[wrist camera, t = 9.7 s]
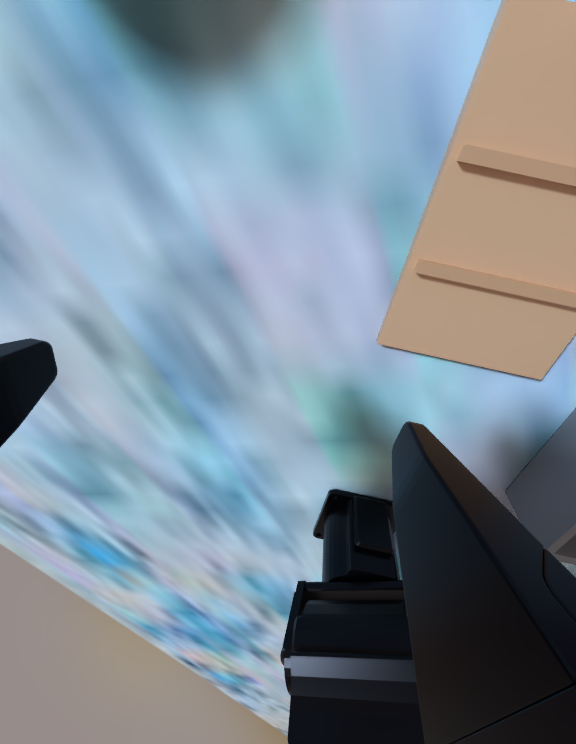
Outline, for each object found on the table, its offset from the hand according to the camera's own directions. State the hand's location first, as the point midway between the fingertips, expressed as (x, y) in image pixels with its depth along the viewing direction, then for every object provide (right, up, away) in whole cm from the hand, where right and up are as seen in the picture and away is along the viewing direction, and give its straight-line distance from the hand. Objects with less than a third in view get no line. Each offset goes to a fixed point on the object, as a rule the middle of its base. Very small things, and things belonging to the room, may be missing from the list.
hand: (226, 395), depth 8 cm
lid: (+13, +9, +7) cm, 17 cm away
